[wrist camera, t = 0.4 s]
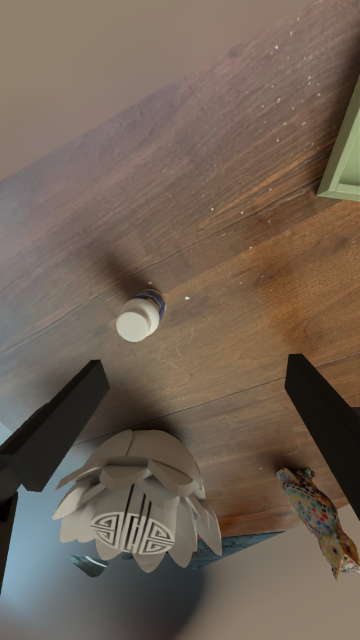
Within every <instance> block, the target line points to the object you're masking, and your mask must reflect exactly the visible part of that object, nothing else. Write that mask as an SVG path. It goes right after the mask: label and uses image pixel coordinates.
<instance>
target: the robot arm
mask: <svg viewBox="0 0 360 640" xmlns="http://www.w3.org/2000/svg"><path fill="white" fill-rule="evenodd" d="M109 389H110V387H109V384H108V381H107V378H106V375H105V372H104V369H103V366H102V363H101V360H90V361H89V362H88V364H87V365H86V366H85V367H84V368H83V369H82V370H81V371H80V372H79V373H78V374H77V375H76V376H75V377H74V378H73V379H72V380H71V381H70V382H69V383H68V384H67V385H66V386H65V387H64V388H63V389H62V390H61V391H60V392H59V393H58V394H57V395H56V396H55V397H54V398H53V399H52V400H51V401H50V402H49V403H46V404H45V405H44V406H42V407H41V408H39V409H38V410H36V411H35V412H34V413H33V414H32V415H31V416H30V417H29V418H28V420H26V421H25V422H24V423H23V424H22V425H21V427H20V428H18V429H17V430H16V431H15V432H14V433H13V434H12V435H11V436H10V437H9V438H8V439H7V440H6V441H5V442H4V443H3V444H2V445H1V446H0V594H1V588H2V583H3V577H4V572H5V566H6V561H7V555H8V550H9V544H10V539H11V533H12V528H13V522H14V517H15V511H16V506H17V500H18V492H17V491H16V490H17V489H18V487H19V486H20V485H21V484H23V486H24V487H25V488H26V490H27V491H35V492H42V490H43V489H44V487H45V486H46V484H47V482H48V481H49V479H50V478H51V476H52V475H53V473H54V472H55V470H56V469H57V467H58V466H59V464H60V463H61V461H62V460H63V458H64V457H65V455H66V454H67V452H68V451H69V449H70V448H71V446H72V445H73V443H74V442H75V440H76V439H77V437H78V436H79V434H80V433H81V431H82V430H83V428H84V427H85V425H86V424H87V422H88V421H89V419H90V418H91V416H92V414H93V413H94V411H95V410H96V408H97V407H98V405H99V404H100V402H101V401H102V399H103V398H104V396H105V395H106V393H107V392H108V390H109ZM285 390H286V392H287V393H288V395H289V397H290V399H291V400H292V402H293V404H294V406H295V407H296V409H297V411H298V413H299V415H300V416H301V418H302V420H303V422H304V423H305V425H306V427H307V429H308V430H309V432H310V434H311V436H312V438H313V439H314V441H315V443H316V445H317V446H318V448H319V450H320V452H321V453H322V455H323V457H324V459H325V460H326V462H327V464H328V466H329V468H330V469H331V471H332V473H333V475H334V476H335V478H336V480H337V482H338V483H339V485H340V487H341V489H342V491H343V492H344V494H345V496H346V498H347V499H348V501H349V503H350V505H351V506H352V508H353V510H354V512H355V514H356V515H357V517H358V519H359V520H360V407H350V406H349V405H348V404H347V403H346V402H345V401H344V399H343V398H342V397H341V396H340V395H339V394H338V393H337V392H336V391H335V390H334V388H333V387H332V386H331V385H330V384H329V383H328V382H327V381H326V380H325V379H324V377H323V376H322V375H321V374H320V373H319V372H318V371H317V370H316V369H315V368H314V366H313V365H312V364H311V363H310V362H309V361H308V360H307V359H306V358H305V356H304V355H303V354H289V357H288V364H287V372H286V380H285Z"/></svg>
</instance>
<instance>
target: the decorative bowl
mask: <svg viewBox="0 0 360 640" xmlns="http://www.w3.org/2000/svg"><path fill="white" fill-rule="evenodd" d="M75 481H77V483H76V484H75V485H74V486H73V487H72V488H71V489H70V490H69V491H68V492H67V494H66V495H65V496H64V498H63V500H62V501H61V502H60V504H59V506H58V508H57V510H56V512H55V514H54V515H53V518H52V519H54V520H57V519H60V518H62V517H64V518H63V521H62V524H61V529H60V541H61V542H62V543H67V542H71V541H73V540H75V539H78V541H79V542H88V541H91V540H92V539H94V538H96V545H97V550H98V553H99V555H100V557H101V558H102V559H103V560H109V559H112V558H113V557H115V556H117V555H118V554H119V553H121V552H122V551H125V552H129V553H130V550H131V552H132V554H133V556H134V558H135V559H136V561H137V563H138V564H139V566H140V568H141V569H142V570H143V571H145V572H147V573H149V572H151V571H153V570H154V569H155V568H156V567H157V566H158V564H159V563H160V562H161V560H162V559H163V556H164V555H165V552H166V551H168V552H169V554H170V555H171V557H172V558H173V559H174V561H175V562H176V563H177V564H178V565H179V566H181V567H184V568H185V567H187V565H188V564H189V562H190V559H191V556H192V552H193V551H197V533H198V534H199V535H200V537H201V538H202V539H203V540H204V541H205V543H206V544H207V545H208V546H209V547H210V548H211V549H212V550H213V551H214V552H215V553H216V554H217V555H222V547H221V535H220V529H219V524H218V521H217V518H216V515H215V513H214V511H213V509H212V507H211V506H210V505H209V503H208V502H207V501H205V491H204V485H203V480H202V477H201V473H200V471H199V468H198V466H197V463H196V462H195V460H194V459H193V457H192V455H191V453H190V452H189V451H188V449H187V448H186V447H185V446H184V445H183V444H182V443H181V442H180V441H179V440H178V439H176V438H175V437H174V436H172V435H170V434H168V433H166V432H163V431H160V430H138V431H131V430H126V431H123V432H121V433H118V434H116V435H114V436H113V437H111V438H110V439H108V440H107V441H105V442H104V443H103V444H102V445H101V446H100V447H99V448H98V449H97V450H95V452H94V453H93V454H92V455H91V456H90V458H89V459H88V460H87V462H86V463H85V465H84V466H83V467H81V468H80V469H78V470H76V471H75V472H73V473H71V474H70V475H68V476H66V477H65V478H63V479H62V480H61V481H60V482H59V484H58V486H57V488H56V489H55V490H57V489H59V488H61V487H62V486H64V485H66V484H67V483H71V482H75Z"/></svg>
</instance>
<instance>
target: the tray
mask: <svg viewBox="0 0 360 640" xmlns="http://www.w3.org/2000/svg"><path fill="white" fill-rule="evenodd" d="M316 196H322V197H330V198H337V199H344V200H351V201H359V202H360V75H359V78H358V81H357V84H356V86H355V89H354V92H353V95H352V97H351V100H350V103H349V106H348V108H347V111H346V114H345V117H344V120H343V122H342V125H341V128H340V131H339V133H338V136H337V139H336V142H335V144H334V147H333V150H332V153H331V156H330V158H329V161H328V164H327V167H326V169H325V172H324V175H323V178H322V180H321V183H320V186H319V189H318V192H317V194H316Z"/></svg>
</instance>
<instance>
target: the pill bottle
mask: <svg viewBox="0 0 360 640" xmlns="http://www.w3.org/2000/svg"><path fill="white" fill-rule="evenodd" d="M165 310H166V300H165V298H164V297H163V295H162V294H161V293H160V292H158V291H156V290H153V289H146V290H143V291H141V292H140V293H138V294H137V295H136V296H134V297H133V298H132V299H130V300H129V301H127V302H126V303H125V304H124V305H123V307H122V308H121V311H120V316H119V317H118V319H117V322H116V327H117V331H118V333H119V334H120V335H121V336H122V337H123V338H124V339H126V340H128V341H132V342H137V341H141V340H143V339H144V338H145V337H146V336H148V335H150V334H152V333H153V332H154V331H155V330H156V328H157V327H158V325H159V323H160V321H161V319H162V317H163V315H164V313H165Z"/></svg>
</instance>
